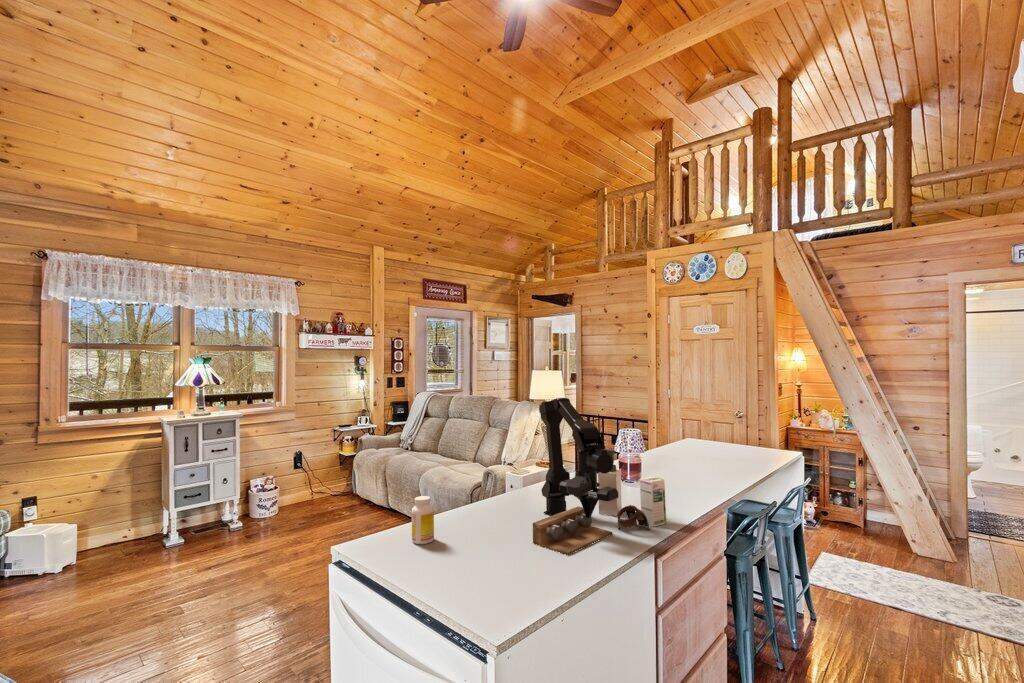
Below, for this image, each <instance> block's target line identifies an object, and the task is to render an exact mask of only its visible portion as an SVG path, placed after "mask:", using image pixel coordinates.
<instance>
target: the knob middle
mask: <svg viewBox="0 0 1024 683" xmlns="http://www.w3.org/2000/svg"><path fill="white" fill-rule="evenodd" d="M561 527H563V528H564V530H565V531H566V532H568V533H571V534H575V533H576V532H577V530H578V523H577V521H574V520H570V519H568V520H566V522H565V521H561Z"/></svg>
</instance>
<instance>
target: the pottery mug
mask: <svg viewBox="0 0 1024 683" xmlns="http://www.w3.org/2000/svg"><path fill="white" fill-rule="evenodd" d="M624 513H625V515H626V516H627V518H625V519H624V518H621V516H622V515H623V514H624ZM616 517H617V519H616V520H617V524H616V525H617V528H618V530H621V529H628V528H631V527H639V525H641V526H644V527H647V530H648V531H649V530H651V528H650V525H649V523H648V520H647V517H646V516H645V514H644V513H643V512H642V511H641V509H639V508H638V507H637V506H635V505H632V504H629V505H625V506H624V507H622V509H621V510H620V511H619V512H618V514H617V516H616Z"/></svg>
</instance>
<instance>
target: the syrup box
mask: <svg viewBox="0 0 1024 683" xmlns="http://www.w3.org/2000/svg"><path fill="white" fill-rule="evenodd" d="M639 496H640V510H641V511H642V512H643V513H644V514H645V516H646V517H647V520H648V523H649V526H650V525H651V527H652V528H654V527H656V526H657V527H658V526H661V525H666V524H667V510H666V487H665V479H663V478H662V477H661V478H660V477H656V476H649V477H644V478H641V477H640V478H639Z"/></svg>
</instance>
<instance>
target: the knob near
mask: <svg viewBox="0 0 1024 683" xmlns="http://www.w3.org/2000/svg"><path fill="white" fill-rule="evenodd" d="M546 533H548V534H549V536H550V538H552V539H555V540H561V539H562V537H563V533H564V531H563V528H562V527H560V526H556V525H552V526H551V527H547V526H546Z"/></svg>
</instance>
